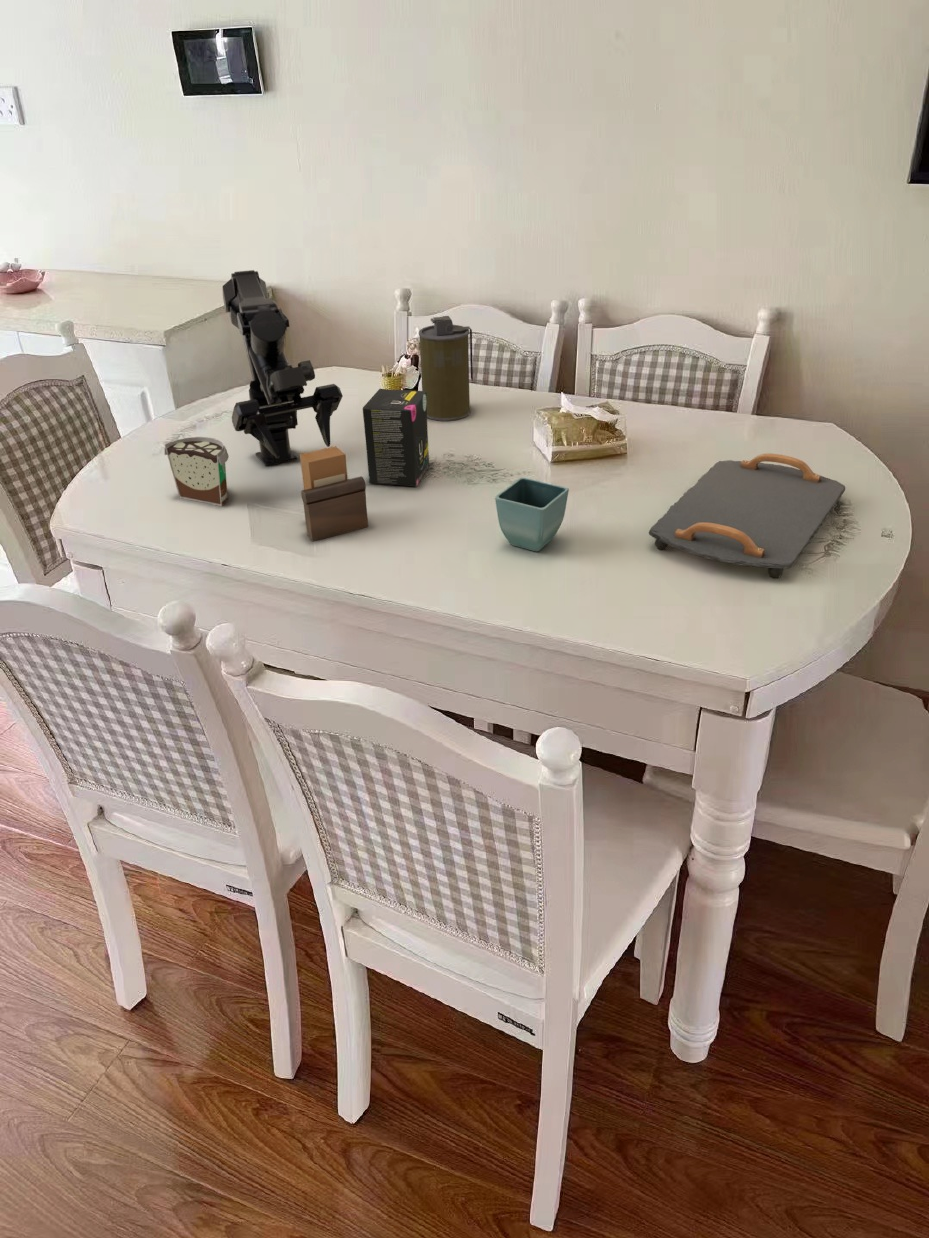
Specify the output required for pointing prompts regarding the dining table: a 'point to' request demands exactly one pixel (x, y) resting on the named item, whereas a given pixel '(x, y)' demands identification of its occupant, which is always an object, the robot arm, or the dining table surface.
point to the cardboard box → (323, 467)
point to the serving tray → (750, 513)
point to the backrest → (335, 508)
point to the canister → (446, 369)
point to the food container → (199, 469)
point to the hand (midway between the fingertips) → (303, 451)
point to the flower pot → (531, 512)
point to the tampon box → (396, 437)
